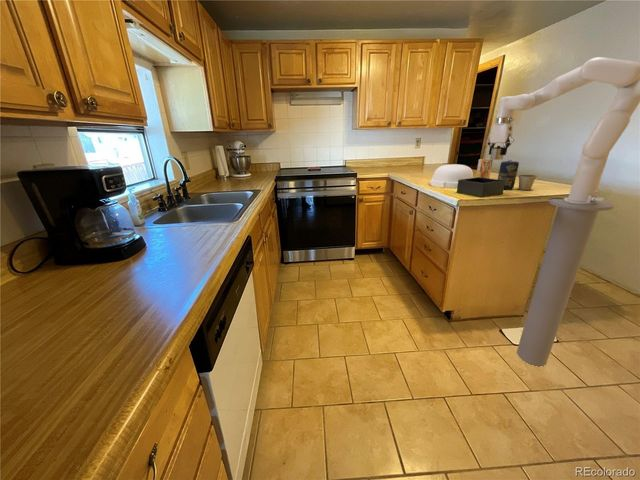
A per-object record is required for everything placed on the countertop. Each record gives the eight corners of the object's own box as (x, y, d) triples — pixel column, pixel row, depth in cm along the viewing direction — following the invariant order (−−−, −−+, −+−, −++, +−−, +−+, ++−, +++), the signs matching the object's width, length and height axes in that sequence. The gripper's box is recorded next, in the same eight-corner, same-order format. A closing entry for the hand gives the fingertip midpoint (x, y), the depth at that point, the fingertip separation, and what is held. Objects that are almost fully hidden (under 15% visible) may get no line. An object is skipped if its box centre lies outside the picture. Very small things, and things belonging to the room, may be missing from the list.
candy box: (486, 178, 212) (489, 158, 207) (489, 179, 208) (493, 158, 203) (475, 178, 212) (478, 159, 207) (478, 179, 208) (481, 159, 203)
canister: (497, 189, 170) (503, 160, 163) (494, 187, 178) (499, 159, 171) (515, 190, 166) (521, 160, 160) (511, 187, 174) (517, 159, 168)
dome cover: (440, 180, 215) (442, 162, 210) (480, 182, 195) (484, 163, 190) (422, 185, 195) (423, 166, 190) (465, 189, 174) (469, 167, 169)
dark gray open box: (502, 193, 158) (505, 180, 155) (481, 197, 152) (483, 183, 150) (476, 189, 174) (478, 177, 171) (456, 192, 168) (458, 179, 165)
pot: (506, 159, 153) (508, 145, 151) (497, 159, 151) (500, 146, 148) (495, 158, 159) (497, 145, 157) (486, 159, 157) (489, 146, 154)
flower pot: (531, 191, 161) (535, 177, 158) (513, 189, 168) (516, 175, 165) (535, 189, 167) (539, 175, 164) (517, 187, 173) (520, 174, 170)
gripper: (524, 120, 141) (516, 155, 148) (493, 122, 157) (488, 153, 163) (514, 120, 139) (507, 155, 145) (484, 122, 154) (479, 154, 161)
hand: (497, 154), depth 154 cm, fingers closed on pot, 6 cm apart
